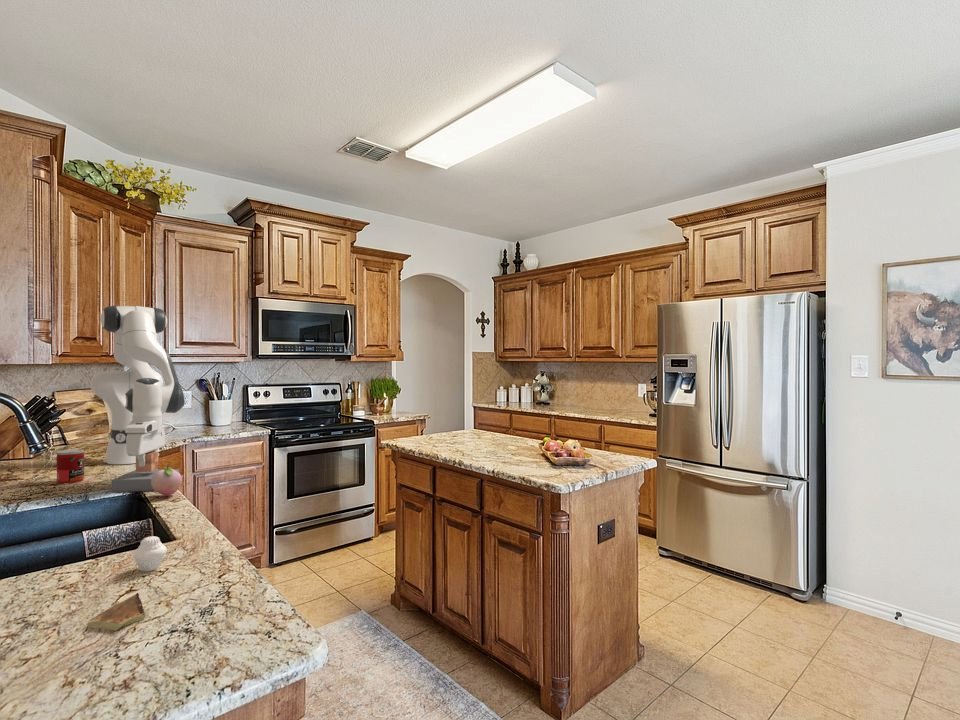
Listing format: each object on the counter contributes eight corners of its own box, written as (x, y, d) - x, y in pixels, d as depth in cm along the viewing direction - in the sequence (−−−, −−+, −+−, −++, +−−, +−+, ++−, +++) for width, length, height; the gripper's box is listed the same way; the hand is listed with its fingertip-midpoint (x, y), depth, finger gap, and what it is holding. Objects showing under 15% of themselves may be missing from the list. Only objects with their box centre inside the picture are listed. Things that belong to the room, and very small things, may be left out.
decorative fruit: (148, 496, 166) (148, 465, 166) (176, 491, 172) (176, 462, 172) (155, 502, 160) (155, 470, 160) (184, 497, 165) (185, 466, 165)
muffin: (125, 573, 107) (125, 540, 107) (148, 562, 113) (148, 530, 113) (152, 575, 106) (152, 542, 106) (173, 563, 112) (173, 532, 112)
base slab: (134, 481, 186) (134, 470, 186) (179, 480, 188) (179, 469, 188) (111, 491, 171) (111, 479, 171) (160, 490, 173) (160, 478, 173)
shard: (137, 600, 97) (137, 590, 97) (173, 604, 95) (173, 594, 95) (84, 630, 86) (84, 619, 86) (124, 634, 85) (124, 623, 85)
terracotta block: (142, 468, 182) (143, 452, 182) (158, 468, 183) (158, 451, 183) (135, 472, 177) (135, 454, 177) (151, 471, 178) (151, 454, 178)
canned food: (72, 484, 181) (72, 453, 181) (50, 483, 181) (50, 452, 181) (89, 479, 189) (89, 449, 189) (68, 478, 189) (68, 448, 189)
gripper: (151, 421, 189) (151, 458, 189) (122, 428, 169) (121, 470, 169) (170, 421, 190) (170, 458, 190) (142, 428, 170) (142, 470, 170)
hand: (147, 464), depth 180 cm, fingers closed on terracotta block, 5 cm apart
